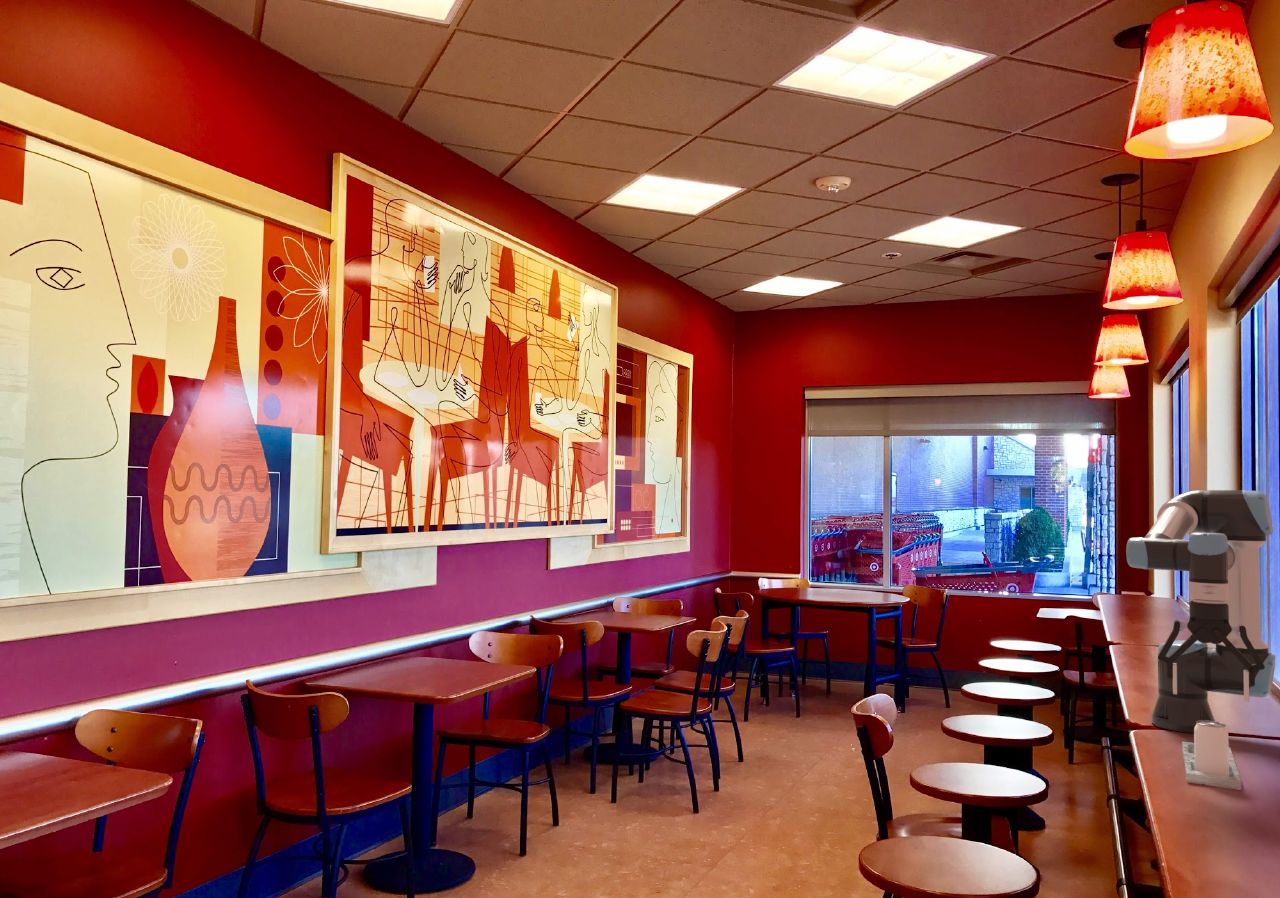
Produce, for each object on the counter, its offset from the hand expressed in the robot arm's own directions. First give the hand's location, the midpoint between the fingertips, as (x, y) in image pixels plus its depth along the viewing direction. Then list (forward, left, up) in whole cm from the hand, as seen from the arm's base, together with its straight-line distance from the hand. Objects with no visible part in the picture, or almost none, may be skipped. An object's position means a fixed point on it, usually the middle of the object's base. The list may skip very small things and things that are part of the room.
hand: (1210, 697), depth 203 cm
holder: (-8, 0, -18) cm, 20 cm away
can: (0, 0, -18) cm, 18 cm away
